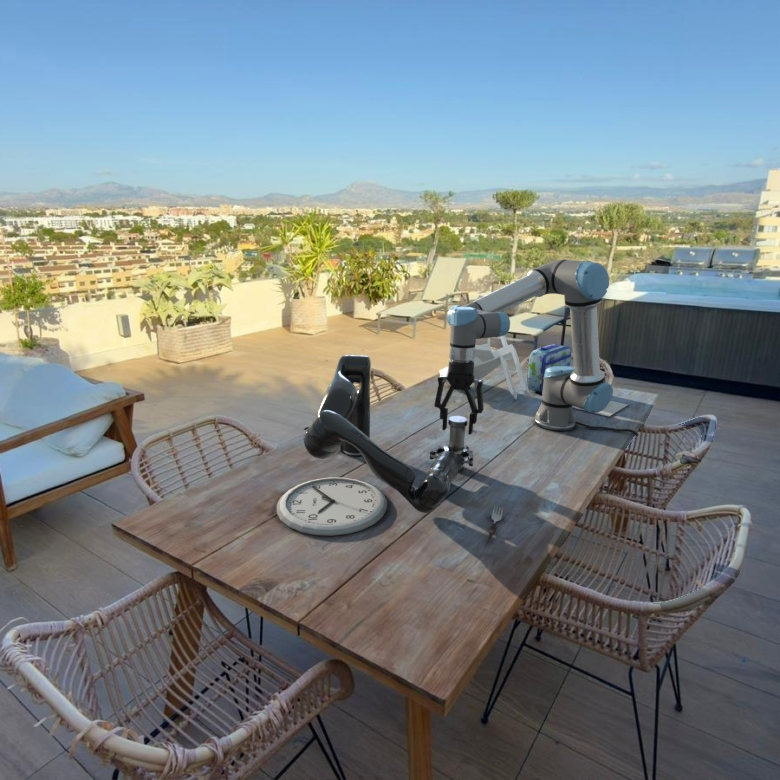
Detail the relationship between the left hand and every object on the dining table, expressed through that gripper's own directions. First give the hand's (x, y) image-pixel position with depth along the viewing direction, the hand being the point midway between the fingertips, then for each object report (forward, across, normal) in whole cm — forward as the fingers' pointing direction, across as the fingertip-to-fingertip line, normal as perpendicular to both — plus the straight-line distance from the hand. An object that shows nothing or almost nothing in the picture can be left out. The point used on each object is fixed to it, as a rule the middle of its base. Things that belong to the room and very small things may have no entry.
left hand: (458, 446), depth 167 cm
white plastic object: (+80, -8, -6) cm, 80 cm away
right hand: (-3, 0, +6) cm, 7 cm away
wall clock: (-38, -26, -6) cm, 47 cm away
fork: (-33, +17, -6) cm, 38 cm away
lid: (-3, 0, +10) cm, 10 cm away
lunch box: (+98, +21, -6) cm, 100 cm away
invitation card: (+80, +45, -6) cm, 92 cm away
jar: (-3, 0, -6) cm, 7 cm away
